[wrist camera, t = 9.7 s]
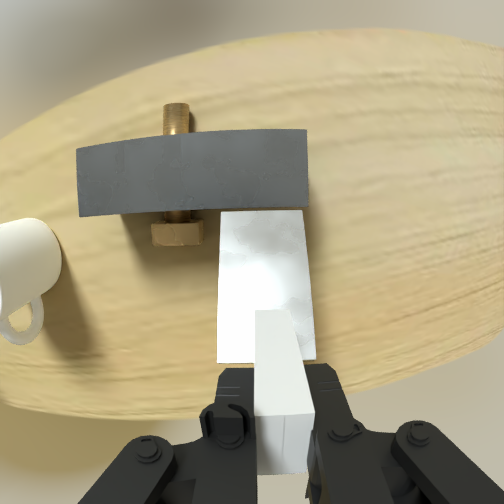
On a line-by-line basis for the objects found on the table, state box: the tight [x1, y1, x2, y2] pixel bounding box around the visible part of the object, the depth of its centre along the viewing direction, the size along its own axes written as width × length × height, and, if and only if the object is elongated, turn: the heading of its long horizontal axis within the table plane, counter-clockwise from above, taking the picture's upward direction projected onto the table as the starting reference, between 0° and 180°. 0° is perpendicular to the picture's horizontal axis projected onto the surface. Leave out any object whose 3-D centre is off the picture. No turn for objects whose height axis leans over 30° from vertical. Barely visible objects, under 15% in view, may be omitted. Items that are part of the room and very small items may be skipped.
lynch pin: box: [151, 103, 204, 246], centre depth 25 cm, size 12×4×2 cm, turn 1°
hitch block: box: [76, 129, 308, 217], centre depth 22 cm, size 16×5×7 cm, turn 91°
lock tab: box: [218, 210, 316, 364], centre depth 17 cm, size 5×9×1 cm
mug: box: [0, 218, 62, 345], centre depth 23 cm, size 12×8×10 cm
